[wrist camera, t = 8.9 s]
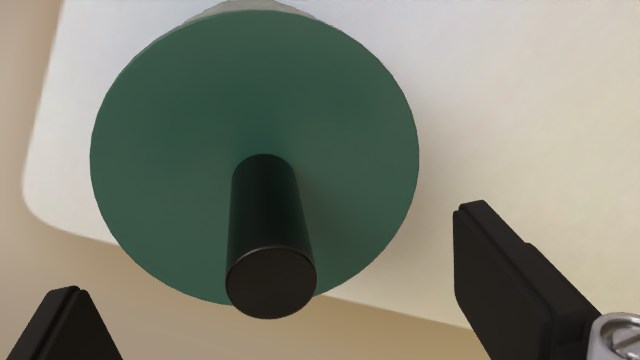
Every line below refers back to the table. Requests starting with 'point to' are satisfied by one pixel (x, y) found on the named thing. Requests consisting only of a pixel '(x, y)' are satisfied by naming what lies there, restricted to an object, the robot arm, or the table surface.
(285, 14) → the lid
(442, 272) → the table surface
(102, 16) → the table surface
